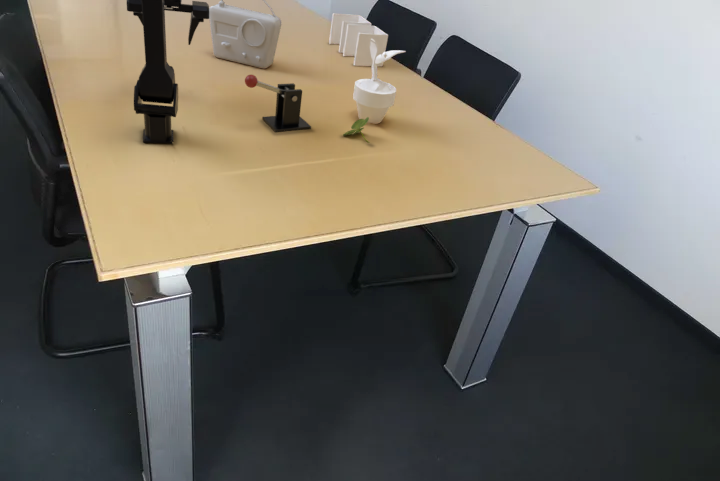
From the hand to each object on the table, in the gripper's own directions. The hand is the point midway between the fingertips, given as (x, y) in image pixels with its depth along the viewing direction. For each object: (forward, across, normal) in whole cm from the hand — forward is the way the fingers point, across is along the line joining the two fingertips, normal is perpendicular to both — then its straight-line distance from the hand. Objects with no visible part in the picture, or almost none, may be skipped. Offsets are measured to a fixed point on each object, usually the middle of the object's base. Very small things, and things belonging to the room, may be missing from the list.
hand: (170, 42), depth 141 cm
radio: (+14, -21, -34) cm, 42 cm away
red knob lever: (+5, -23, +17) cm, 29 cm away
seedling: (+15, -45, +22) cm, 52 cm away
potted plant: (+14, -53, +9) cm, 56 cm away
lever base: (+14, -28, +15) cm, 35 cm away
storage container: (+14, -64, -52) cm, 83 cm away
